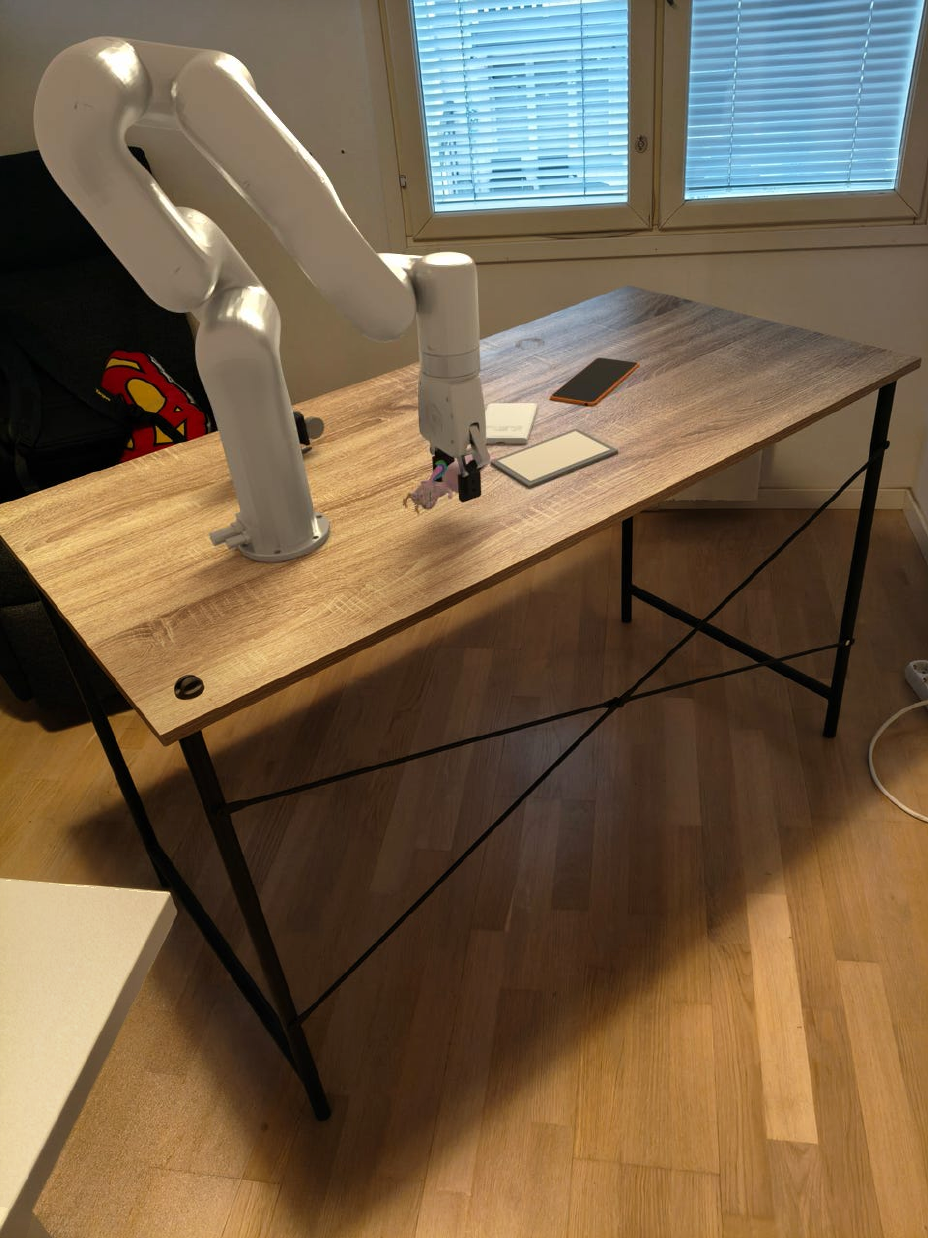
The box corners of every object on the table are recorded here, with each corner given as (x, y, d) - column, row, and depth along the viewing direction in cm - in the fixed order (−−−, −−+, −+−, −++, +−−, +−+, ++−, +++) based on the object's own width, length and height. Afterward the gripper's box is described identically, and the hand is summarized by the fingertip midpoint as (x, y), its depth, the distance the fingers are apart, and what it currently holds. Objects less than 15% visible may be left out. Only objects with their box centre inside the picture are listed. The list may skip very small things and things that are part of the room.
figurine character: (300, 445, 156) (226, 474, 147) (295, 400, 152) (218, 426, 143) (328, 455, 153) (254, 485, 143) (324, 408, 149) (247, 436, 139)
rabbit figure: (428, 529, 124) (510, 473, 130) (418, 491, 120) (503, 436, 126) (398, 512, 127) (479, 459, 134) (388, 475, 124) (472, 422, 130)
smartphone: (640, 366, 166) (640, 361, 166) (593, 409, 154) (593, 403, 154) (596, 360, 170) (596, 355, 170) (547, 401, 158) (547, 395, 158)
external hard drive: (538, 412, 156) (527, 446, 146) (488, 412, 157) (474, 446, 148) (537, 402, 155) (526, 437, 145) (488, 403, 157) (473, 436, 147)
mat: (529, 487, 134) (529, 484, 134) (490, 463, 141) (490, 460, 141) (618, 452, 140) (618, 449, 140) (576, 430, 147) (576, 427, 147)
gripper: (390, 347, 122) (402, 473, 133) (460, 388, 110) (467, 524, 121) (440, 334, 125) (448, 458, 136) (514, 373, 113) (516, 506, 124)
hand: (457, 488), depth 128 cm, fingers closed on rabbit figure, 5 cm apart
